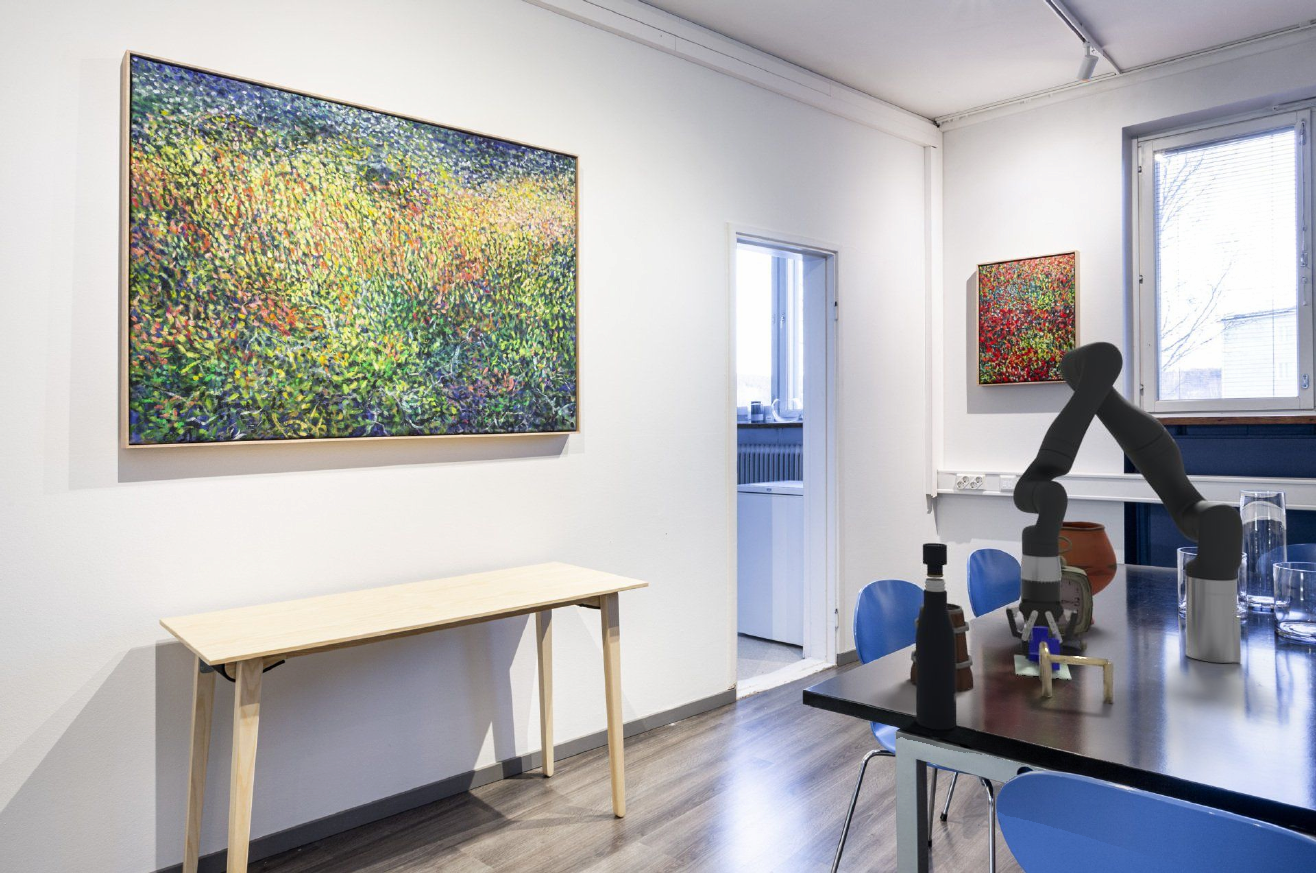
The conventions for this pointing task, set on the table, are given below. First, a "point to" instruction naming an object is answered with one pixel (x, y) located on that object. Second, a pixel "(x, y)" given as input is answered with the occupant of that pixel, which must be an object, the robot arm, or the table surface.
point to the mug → (962, 658)
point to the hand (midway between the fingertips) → (1041, 658)
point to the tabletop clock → (1074, 598)
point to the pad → (1032, 668)
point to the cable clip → (1036, 638)
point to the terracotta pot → (1089, 552)
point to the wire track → (1047, 658)
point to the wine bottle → (935, 648)
